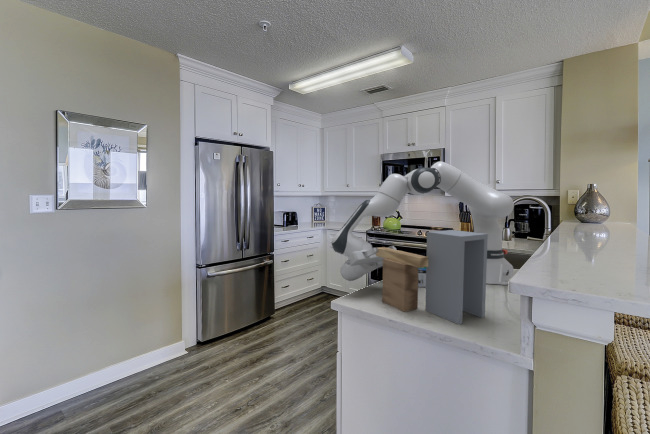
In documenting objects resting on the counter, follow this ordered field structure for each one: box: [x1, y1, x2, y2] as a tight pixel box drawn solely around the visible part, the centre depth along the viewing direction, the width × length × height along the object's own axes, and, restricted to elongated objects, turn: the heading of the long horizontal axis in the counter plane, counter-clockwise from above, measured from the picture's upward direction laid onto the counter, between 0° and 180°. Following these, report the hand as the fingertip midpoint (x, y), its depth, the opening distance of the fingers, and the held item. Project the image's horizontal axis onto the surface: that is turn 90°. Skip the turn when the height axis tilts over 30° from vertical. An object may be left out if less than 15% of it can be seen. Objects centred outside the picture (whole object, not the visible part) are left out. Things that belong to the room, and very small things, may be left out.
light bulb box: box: [418, 267, 426, 288], centre depth 136 cm, size 11×7×11 cm, turn 168°
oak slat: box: [376, 246, 428, 268], centre depth 109 cm, size 4×22×3 cm, turn 29°
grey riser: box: [424, 229, 488, 325], centre depth 102 cm, size 12×13×26 cm
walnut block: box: [381, 259, 419, 313], centre depth 110 cm, size 6×11×16 cm, turn 29°
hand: (384, 248), depth 116 cm, fingers open, 6 cm apart
